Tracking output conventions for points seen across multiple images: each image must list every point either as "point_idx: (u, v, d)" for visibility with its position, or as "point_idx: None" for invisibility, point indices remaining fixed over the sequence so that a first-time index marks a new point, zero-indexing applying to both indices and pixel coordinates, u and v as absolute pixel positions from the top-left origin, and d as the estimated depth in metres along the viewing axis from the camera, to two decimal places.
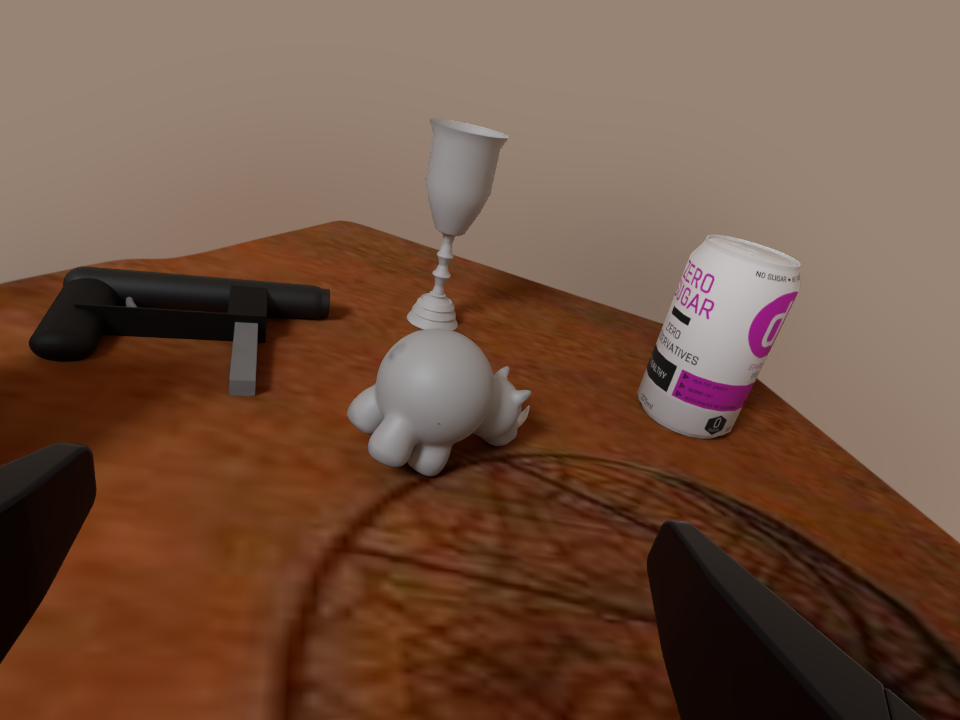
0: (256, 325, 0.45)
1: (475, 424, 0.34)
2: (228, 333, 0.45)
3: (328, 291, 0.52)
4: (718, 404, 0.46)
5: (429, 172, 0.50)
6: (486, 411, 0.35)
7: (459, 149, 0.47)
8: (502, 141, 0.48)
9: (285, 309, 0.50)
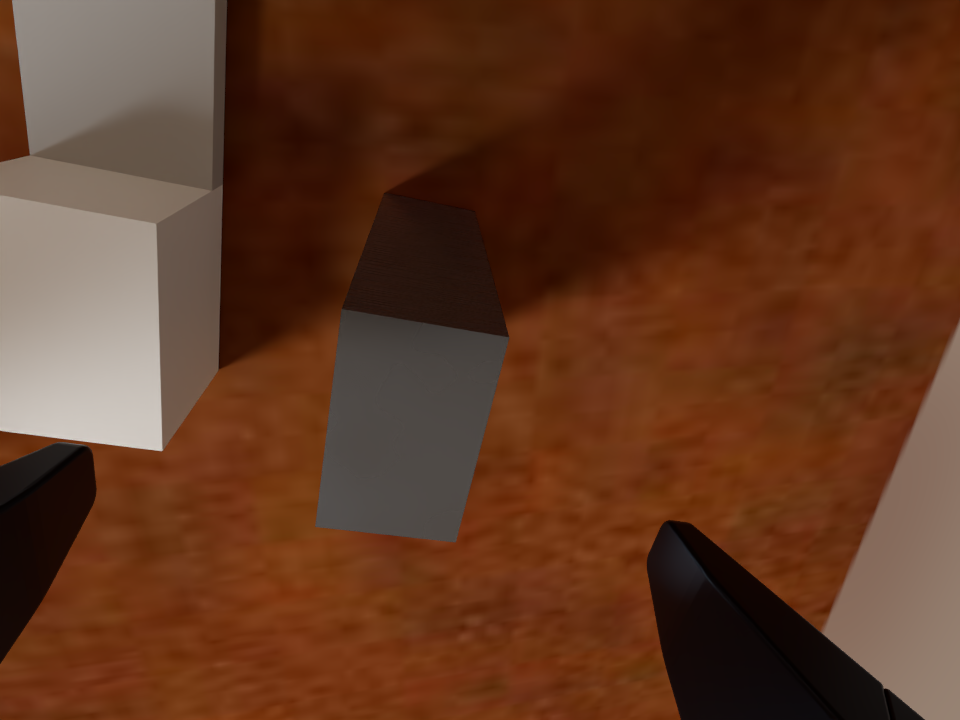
0: None
1: None
2: None
3: None
4: None
5: None
6: None
7: None
8: None
9: None
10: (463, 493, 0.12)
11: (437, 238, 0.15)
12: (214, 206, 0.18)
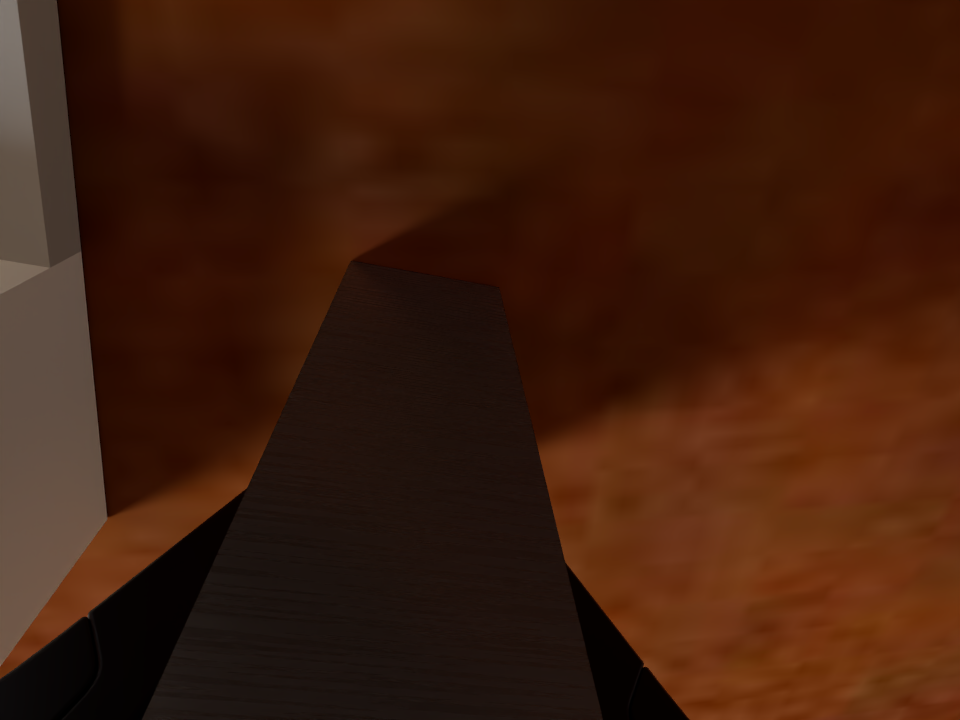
0: None
1: None
2: None
3: None
4: None
5: None
6: None
7: None
8: None
9: None
10: None
11: (434, 381, 0.08)
12: (60, 290, 0.11)
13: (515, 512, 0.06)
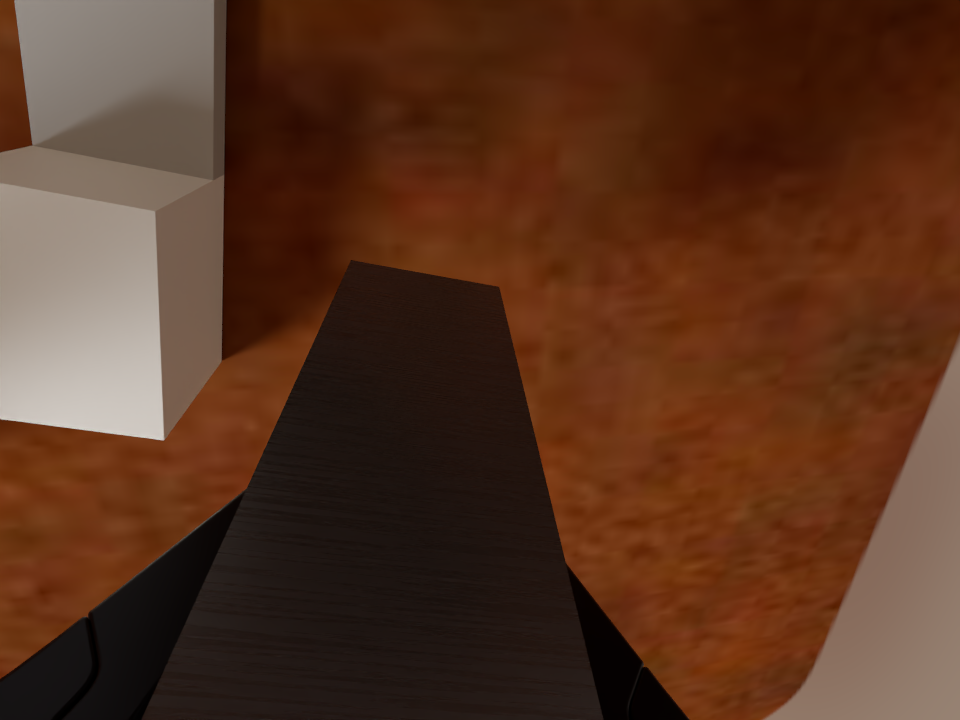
0: None
1: None
2: None
3: None
4: None
5: None
6: None
7: None
8: None
9: None
10: None
11: (434, 380, 0.08)
12: (215, 196, 0.18)
13: (515, 511, 0.06)
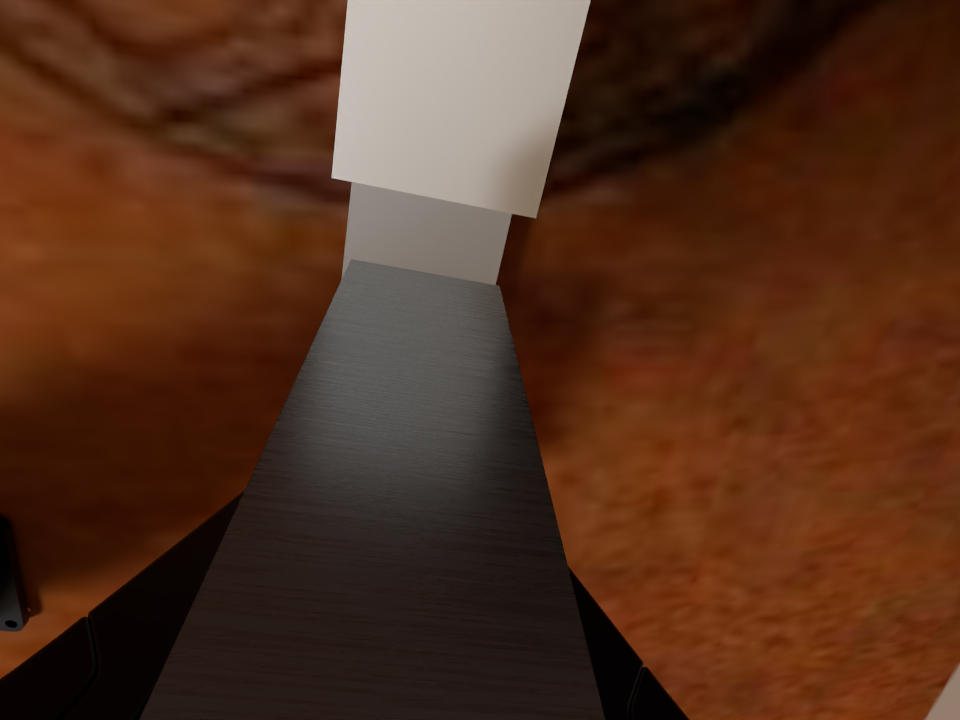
0: None
1: None
2: None
3: None
4: None
5: None
6: None
7: None
8: None
9: None
10: None
11: (434, 379, 0.08)
12: None
13: (516, 510, 0.06)
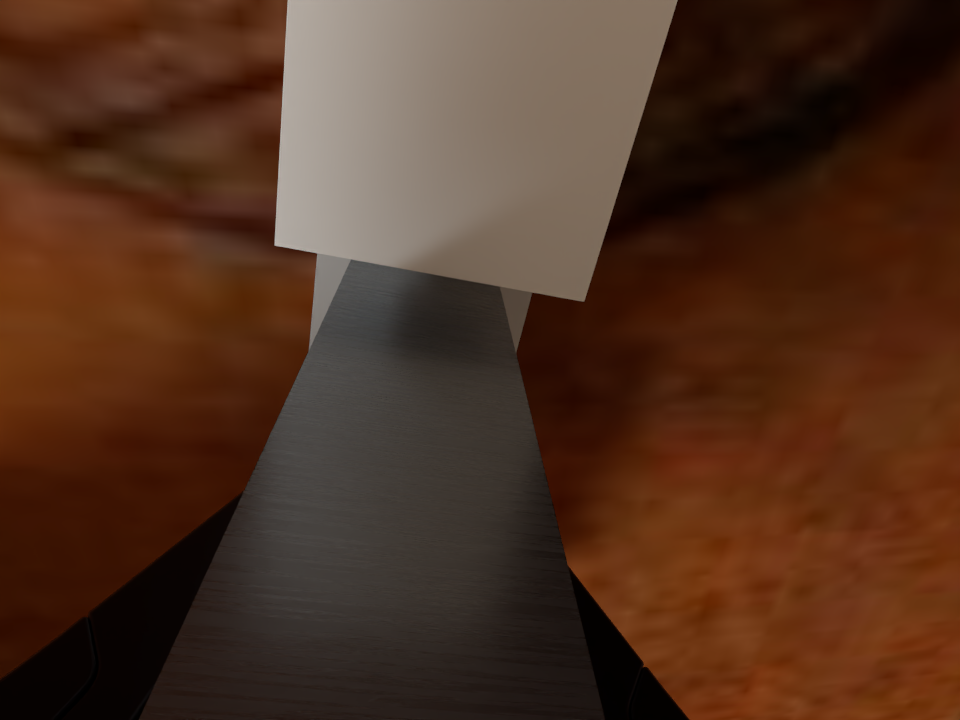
0: None
1: None
2: None
3: None
4: None
5: None
6: None
7: None
8: None
9: None
10: None
11: (434, 379, 0.08)
12: None
13: (516, 510, 0.06)
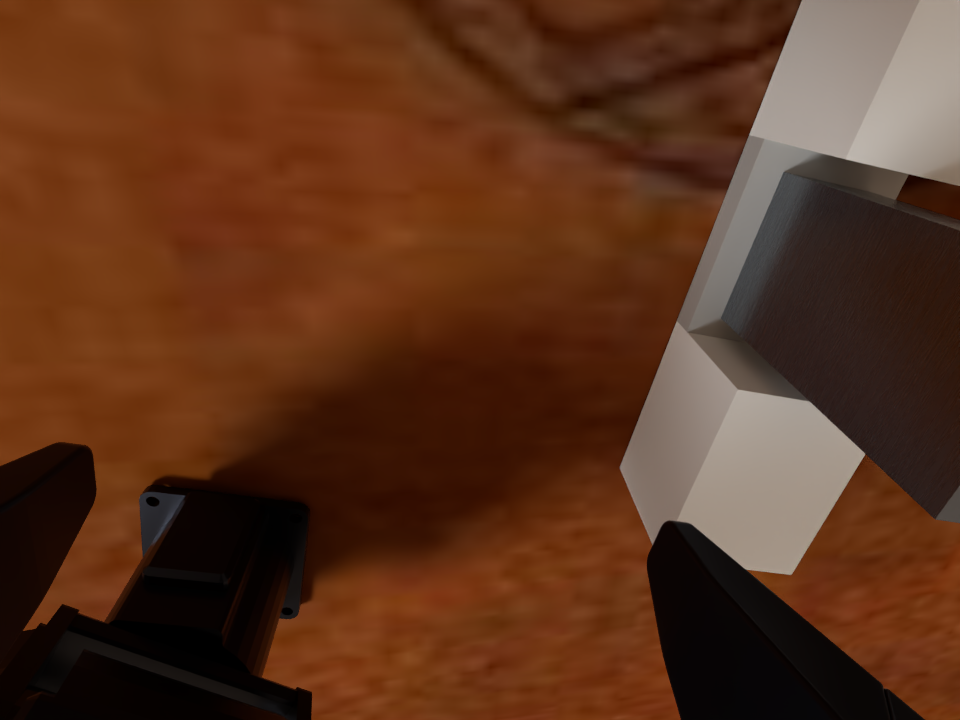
0: None
1: None
2: None
3: None
4: None
5: None
6: None
7: None
8: None
9: None
10: None
11: (935, 215, 0.15)
12: None
13: None
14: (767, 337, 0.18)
